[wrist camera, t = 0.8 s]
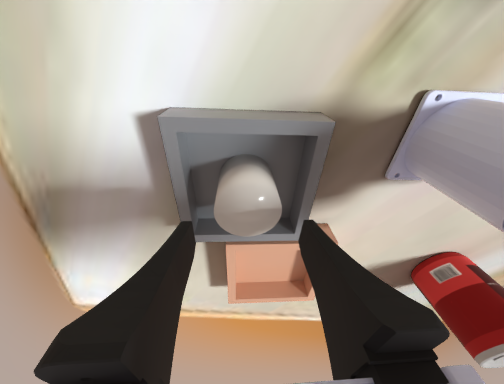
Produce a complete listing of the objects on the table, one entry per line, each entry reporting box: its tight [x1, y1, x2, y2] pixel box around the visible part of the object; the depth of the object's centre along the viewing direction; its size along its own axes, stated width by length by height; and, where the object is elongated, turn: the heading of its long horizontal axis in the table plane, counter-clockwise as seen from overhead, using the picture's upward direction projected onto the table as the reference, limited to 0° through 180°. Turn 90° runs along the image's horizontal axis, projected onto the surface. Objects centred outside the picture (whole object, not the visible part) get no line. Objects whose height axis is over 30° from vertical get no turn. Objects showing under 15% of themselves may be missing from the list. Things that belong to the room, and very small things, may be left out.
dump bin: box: [226, 224, 338, 304], centre depth 25 cm, size 12×12×3 cm
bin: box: [157, 107, 336, 242], centre depth 18 cm, size 12×12×3 cm
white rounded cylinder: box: [214, 154, 282, 237], centre depth 16 cm, size 5×5×5 cm
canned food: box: [411, 252, 504, 368], centre depth 25 cm, size 8×8×11 cm
